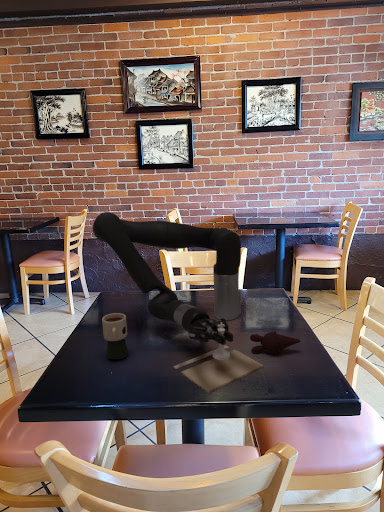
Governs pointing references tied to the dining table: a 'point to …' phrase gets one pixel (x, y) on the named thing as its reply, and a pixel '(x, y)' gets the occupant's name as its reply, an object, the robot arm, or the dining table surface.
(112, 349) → the character mug
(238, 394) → the dining table surface
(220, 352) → the chess piece
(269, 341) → the dark brown lumpy figurine
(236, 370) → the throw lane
